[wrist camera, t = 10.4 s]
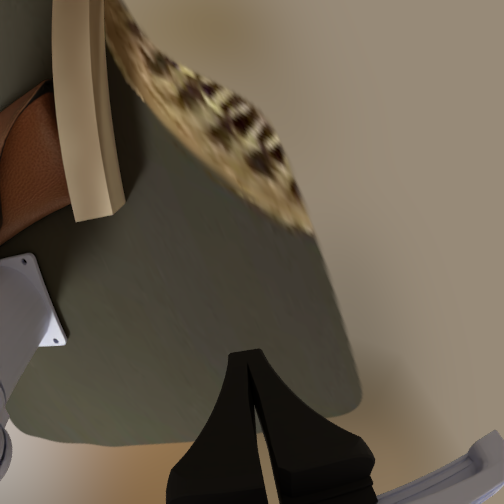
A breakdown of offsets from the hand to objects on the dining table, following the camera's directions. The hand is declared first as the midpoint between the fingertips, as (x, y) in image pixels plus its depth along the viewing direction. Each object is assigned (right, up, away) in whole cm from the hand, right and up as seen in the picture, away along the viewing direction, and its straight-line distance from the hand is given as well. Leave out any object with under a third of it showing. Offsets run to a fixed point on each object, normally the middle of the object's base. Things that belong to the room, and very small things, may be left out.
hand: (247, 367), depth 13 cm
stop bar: (-10, +16, +2) cm, 19 cm away
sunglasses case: (-19, +9, +5) cm, 22 cm away
